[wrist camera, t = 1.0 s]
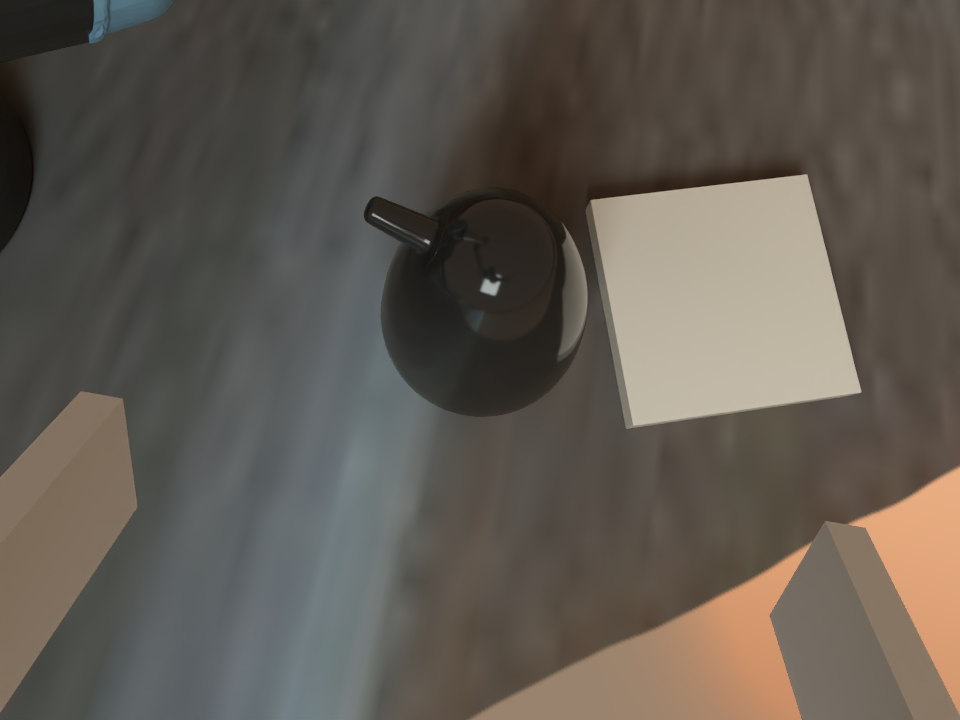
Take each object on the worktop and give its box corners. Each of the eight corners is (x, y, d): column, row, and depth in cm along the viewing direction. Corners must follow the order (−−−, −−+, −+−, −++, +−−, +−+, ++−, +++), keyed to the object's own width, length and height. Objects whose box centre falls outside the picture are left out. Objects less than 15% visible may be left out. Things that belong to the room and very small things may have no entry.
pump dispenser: (417, 224, 42) (407, 71, 27) (588, 280, 42) (672, 158, 27) (357, 390, 40) (311, 323, 25) (537, 448, 40) (598, 416, 25)
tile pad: (585, 210, 43) (590, 199, 41) (794, 185, 44) (807, 174, 43) (626, 428, 40) (633, 426, 39) (846, 396, 42) (861, 392, 40)
